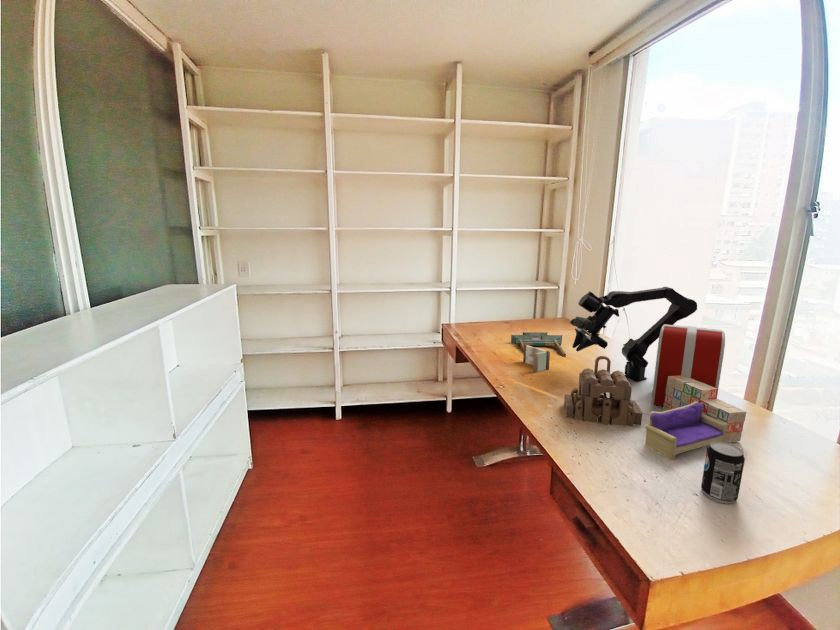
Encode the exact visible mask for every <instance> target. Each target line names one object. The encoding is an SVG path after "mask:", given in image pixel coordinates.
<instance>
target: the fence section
mask: <svg viewBox="0 0 840 630" xmlns="http://www.w3.org/2000/svg"><path fill="white" fill-rule="evenodd" d="M541 352H547V356H546V370H545V371H549V370H550V360H551V359H550V357H551V356H550V355H551V351H549V350H545V349H543V348H539V347H534V346H533V345H529V346H528V345H524V352H523V356H522V357H523V358H522V362H523V363H525V364H528V365H532V366H533V364H534V353H541Z"/></svg>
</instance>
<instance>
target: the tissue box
mask: <svg viewBox="0 0 840 630" xmlns="http://www.w3.org/2000/svg"><path fill="white" fill-rule="evenodd" d="M657 343H658V344H657V349H656V350H657V351H656V359H655V368H654V376H653V385H652V386H653V387H652V393H651V401H650V402H651V403H650V405H651V406H654V407H658V408H662V409H663V406H664V401H665V394H666V386H667V380H668V376H683V377H689V378H691V379H694V380H697V381H699V382H702V383H704V384H707V385H709V386H712V387H714V388H717V389H718V390H719V387H720V386H719V385H720V382H721V375H722V367H723V362H724V361H723V360H724V356H725V355H724V354H725V347H726V334H725V331H724V330H722V329H714V328H703V327H697V326H692V325H688V326H685V325H675V324H674V325H667V324H666V325H665V324H664V325H663V326H662V328H661V331H660V336H659V338H658V341H657ZM718 394H719V391H718V392H717V395H718ZM716 399H718V397H717V398H716Z"/></svg>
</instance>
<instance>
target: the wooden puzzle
mask: <svg viewBox="0 0 840 630" xmlns="http://www.w3.org/2000/svg"><path fill="white" fill-rule="evenodd" d="M600 360H606V369H600V370H598V368H599V362H600ZM611 363H612V362H611V359H610V357H608V356H606V355H600V356H597V357H596V359H595V360H594V369H591V368H589V367H588V368H584V369H583V370H582V372H579V374H578V375H579V376H578V387H574V388H572V390H571V391H570V394H568V393H566V394H564V402H563V403H564V408H565V417H566V418H569V419H573V418H574V420H575V421H582V420H583V422H588V423H597V424H598V423H599V417H601V418H600V423H601V425H603V426H610V424H611V426H619V427H620V426H621V427H634V426H642V421H643V411H642V410H641V408H640V407H639V406H640V405H638V403H637V401H636V400H634V399H633V400H632V389H633V388H632V385H631V384H630V382H629V380H628V378H626V377H625V374H624V373H625V372H623V371H620V370H614V371H612V373H611ZM607 393H608V394H609V395H608V396H609V397H608V396H607Z"/></svg>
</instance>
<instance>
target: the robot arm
mask: <svg viewBox="0 0 840 630" xmlns="http://www.w3.org/2000/svg"><path fill="white" fill-rule="evenodd" d="M661 299H666V300H667V301H668V302H669V303H671V304H670V305H669V307H668V309H667V312H666V313H665V314H664V315H663V316H662V317H661V318H659V319H658V321H656V322H655V323H654V324H653V325H652V326H651V327H649V328H648V329H647V330H646V331H645V332H644V333H643V334H641V336H639V338H636V339H633V338H629V339H628V340H627V342H625V343H623V345H622V348H621V354H622V356H623V357H624V358H625V361H626V364H625V365H624V372H623V373H624V375H625V377H626V378H627V380H628V379H629V380H631V381H633V382H636V383H637V382H641V381H644V380H647V379H648V378H647V377H645V375H646V368H647V366H648V364H649V362H648V360H646V359H645V357H644V356H646V354H647V352H648V349H649V347H650V346H651V345H652V344H653V343H654V342H656V341H657V340H659V336H660V331H661V328H662V326H663V325H664V324H665V325H666V324H667V325H675V324H676V323H677V322H678V321H681V320H683V319H686V318H688V317H689V316H691V315H693V314H694V313H695V312H697V310H698V303H697V301H695V299H691V298H688V297H685V296H684V295H682V294H680V293H679V292H678V291H676V290H675V289H674V288H672V287H669V286H662V287H657V288H651V289H644V290H642V289H641V290H636V291H618V290H612V291H609V292H608V293H607V294H606V295H603V296H600V297H598V296H597V295H595V294H594V293H593V292H592V291H590V290H589V291H588V292H587V293H585V295H583V296H582V297H581V298H580V299H579V301H578V306H580V307H581V308H583V309H584V310H585V311H586V312H589V313H593V312H594V313H593V315H589V316H587V317H586V318H585V317H582V316H576V317H575V318H572V319H571V320H570V321H569V324H570V325H572V326H573V327H576V328H574V330H575V337H574V341H573V343H572V348H573V349H575V352H580V351H582V350H584V349H587V348H588V347H591V346H594V345H595V346H599V347H600V348H602V349H603V350H605V349H607V347H608V346H609V345H608V343H609V342H608V341H606V340H605V339H604V338H603V337H601V336H600V331H601V330H602V328H603V329H606V328H607V326H606V324H607V323H608V321H610V319H611V318H612V317H613V316H616V317H620V314H619V313H620V311H619V309H620V308H623V307H627V306H629V305H631V304H634V303H640V302H647V301H654V300H661ZM603 304H604V305H603Z"/></svg>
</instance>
